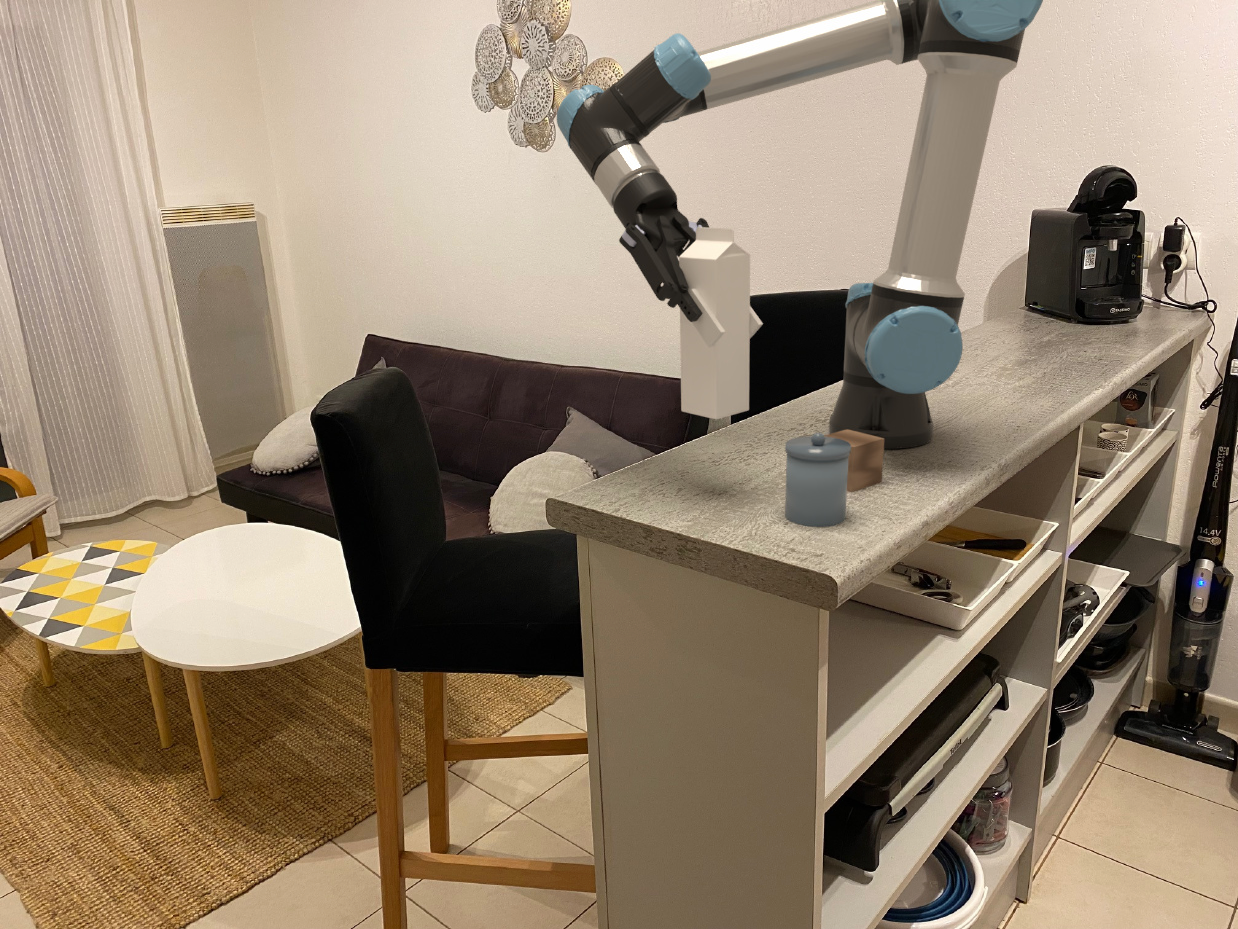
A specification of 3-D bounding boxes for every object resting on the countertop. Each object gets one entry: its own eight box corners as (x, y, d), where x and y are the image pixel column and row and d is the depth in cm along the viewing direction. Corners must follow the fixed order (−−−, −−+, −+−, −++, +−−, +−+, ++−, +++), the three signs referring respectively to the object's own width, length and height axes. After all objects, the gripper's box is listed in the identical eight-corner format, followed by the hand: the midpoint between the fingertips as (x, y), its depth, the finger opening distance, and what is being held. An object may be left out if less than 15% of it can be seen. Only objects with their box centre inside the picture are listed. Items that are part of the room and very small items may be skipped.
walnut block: (845, 472, 128) (847, 429, 126) (881, 482, 124) (884, 438, 122) (815, 481, 125) (816, 437, 123) (851, 492, 120) (853, 447, 118)
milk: (716, 420, 114) (715, 230, 107) (680, 411, 118) (677, 228, 111) (750, 410, 117) (751, 226, 111) (714, 402, 122) (713, 224, 115)
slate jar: (823, 502, 117) (827, 421, 114) (860, 521, 110) (864, 436, 107) (771, 511, 114) (773, 429, 111) (805, 531, 108) (808, 445, 105)
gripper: (675, 209, 128) (769, 343, 121) (565, 218, 116) (663, 367, 109) (704, 166, 122) (804, 305, 116) (592, 171, 110) (697, 325, 104)
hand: (736, 335), depth 112 cm, fingers closed on milk, 6 cm apart
